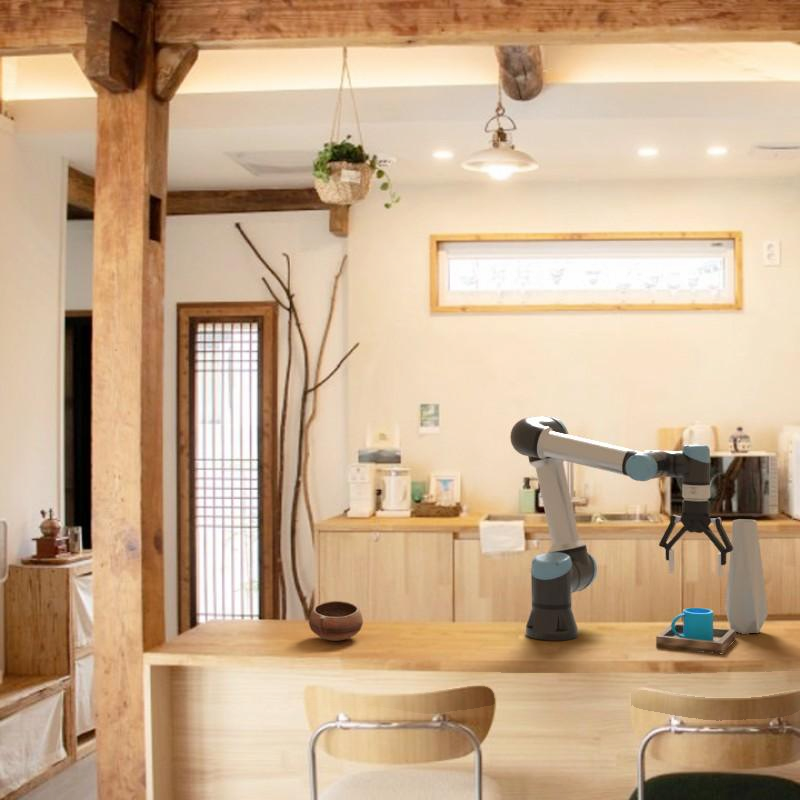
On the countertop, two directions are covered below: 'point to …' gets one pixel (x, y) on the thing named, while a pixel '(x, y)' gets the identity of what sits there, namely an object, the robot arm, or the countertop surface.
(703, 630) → the mug
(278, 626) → the countertop surface
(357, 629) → the bowl
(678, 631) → the tray
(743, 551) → the vase
